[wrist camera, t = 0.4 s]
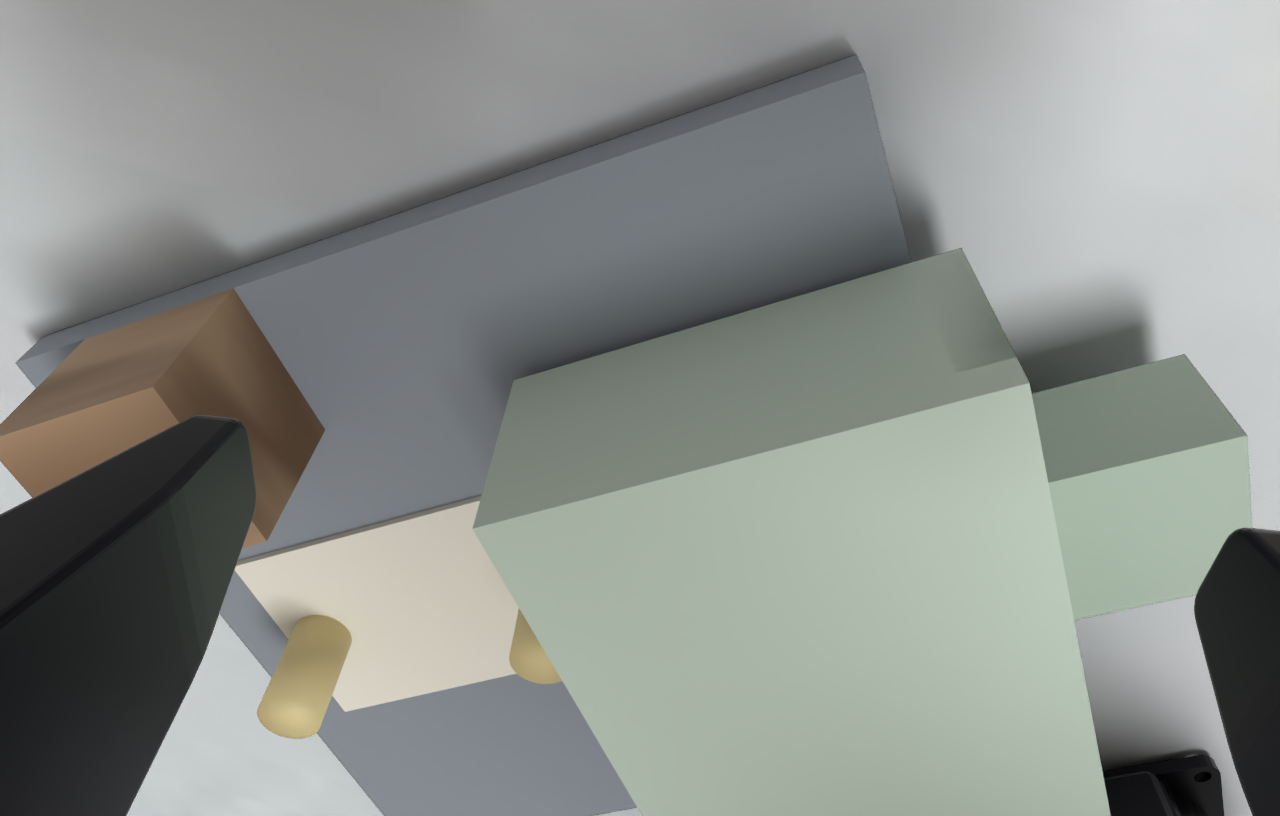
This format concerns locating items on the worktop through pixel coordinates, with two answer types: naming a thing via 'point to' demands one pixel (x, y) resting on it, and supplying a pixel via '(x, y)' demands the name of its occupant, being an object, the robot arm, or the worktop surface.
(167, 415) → the block
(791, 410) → the housing
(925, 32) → the worktop surface
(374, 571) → the board
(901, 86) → the worktop surface
